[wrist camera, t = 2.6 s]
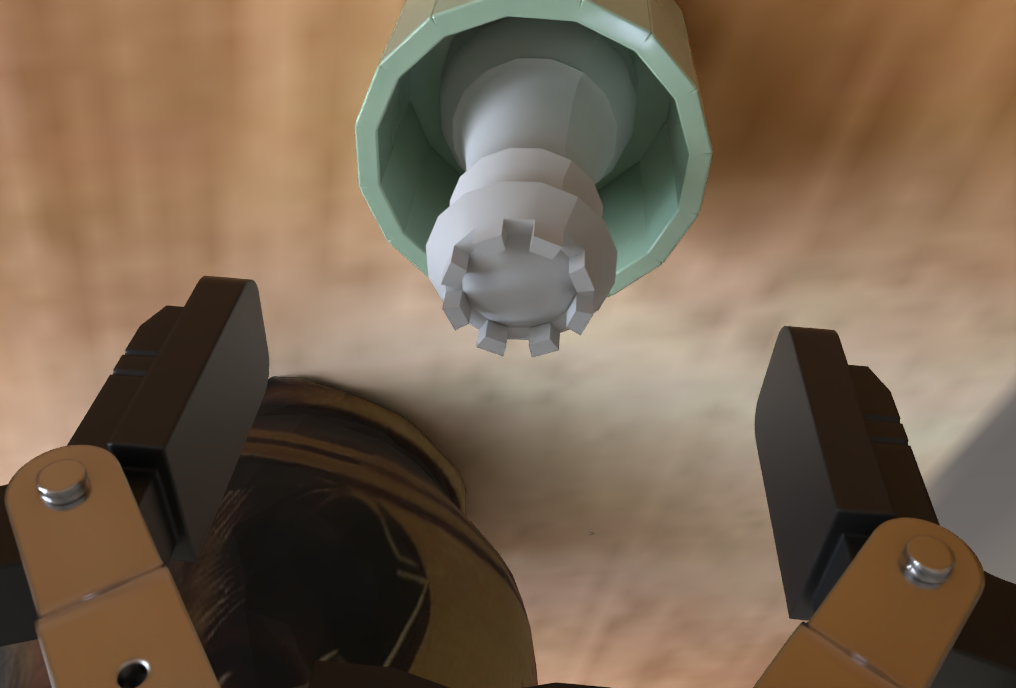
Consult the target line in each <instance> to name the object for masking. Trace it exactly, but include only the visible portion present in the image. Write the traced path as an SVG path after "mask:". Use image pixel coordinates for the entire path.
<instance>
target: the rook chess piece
mask: <svg viewBox="0 0 1016 688" xmlns="http://www.w3.org/2000/svg"><path fill="white" fill-rule="evenodd" d="M637 86H638V77H637V74H636V71H635V68H634V65H633V62H632V59H631V56H630V54H629V51H628V48H627V47H625V46H623V45H621V44H619V43H617V42H615V41H613V40H611V39H609V38H607V37H605V36H603V35H601V34H599V33H598V32H596V31H594V30H592V29H590V28H588V27H586V26H584V25H582V24H580V23H578V22H576V21H563V20H549V19H536V18H523V17H509V16H507V17H504V18H501V19H498V20H495V21H492V22H489V23H486V24H483V25H480V26H477V27H474V28H471V29H468V30H465V31H462V32H460V33H459V34H458V35H457V36H456V37H455V39H454V40H453V43H452V45H451V48H450V51H449V53H448V56H447V59H446V61H445V64H444V67H443V69H442V72H441V87H440V90H439V106H440V122H441V130H442V133H443V136H444V138H445V140H446V142H447V144H448V146H449V148H450V150H451V152H452V154H453V156H454V158H455V160H456V162H457V164H458V166H459V167H460V168H462V169H463V170H464V171H465V173H464V174H463V175H462V176H460V178H459V180H458V183H457V185H456V187H455V190H454V192H453V195H452V197H451V199H450V206H449V207H448V208H447V209H446V210H445V211H444V212H443V213H441V214H440V215H439V216H438V218H437V220H436V223H435V225H434V227H433V230H432V232H431V235H430V237H429V239H428V242H427V244H426V255H427V267H428V277H429V279H430V280H431V282H432V284H433V285H434V287H435V289H436V291H437V292H438V294H439V296H440V298H441V299H442V301H443V308H442V309H443V310H444V312H445V314H446V316H447V317H448V319H449V321H450V322H451V324H452V326H453V328H454V329H455V330H457V329H459V328H461V327H463V326H465V325H467V324H470V325H472V326H474V327H475V328H477V329H479V333H478V339H477V346H476V347H478V348H481V349H484V350H487V351H490V352H493V353H495V354H498V355H501V356H503V355H504V351H505V347H506V342H507V339H519V340H529V348H530V352H531V356H532V357H535V356H539V355H543V354H547V353H550V352H554V351H558V350H559V337H560V333H561V332H563V331H566V330H569V329H570V330H572V331H574V332H576V333H578V334H579V335H581V334H582V332H583V330H584V329H585V327H586V325H587V324H588V322H589V321H590V319H591V317H592V316H593V313H595V312H596V311H597V310H599V308H600V307H601V305H602V303H603V302H604V300H605V298H606V297H607V295H608V294H609V292H610V290H611V289H612V287H613V285H614V284H615V276H616V265H617V253H618V252H617V250H616V247H615V245H614V242H613V240H612V238H611V235H610V233H609V230H608V228H607V225H606V223H605V221H604V220H603V219H602V216H603V204H602V202H601V199H600V197H599V194H598V192H597V189H596V187H595V184H596V183H597V182H599V181H600V180H601V179H602V178H604V177H605V176H606V175H607V174H609V173H610V172H611V171H612V170H613V168H614V167H615V165H616V163H617V161H618V159H619V158H620V156H621V154H622V152H623V150H624V149H625V147H626V145H627V143H628V141H629V140H630V138H631V136H632V134H633V129H634V118H635V108H636V97H637Z"/></svg>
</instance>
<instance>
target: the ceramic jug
mask: <svg viewBox="0 0 1016 688" xmlns="http://www.w3.org/2000/svg"><path fill="white" fill-rule="evenodd" d="M592 534H594V533H592V532H590V535H592ZM167 567H168V569H169V571H170V573H171V575H172V577H173V580H174V582H175V584H176V587H177V589H178V591H179V594H180V596H181V598H182V600H183V603H184V605H185V607H186V610H187V612H188V614H189V616H190V619H191V621H192V623H193V626H194V628H195V630H196V633H197V635H198V637H199V639H200V642H201V644H202V646H203V649H204V651H205V653H206V656H207V658H208V660H209V662H210V665H211V667H212V669H213V672H214V674H215V676H216V679H217V681H218V683H219V685H220V688H293V687H297V686H302V685H308V684H309V682H310V678H311V674H312V670H313V666H314V662H315V660H320V661H330V662H341V663H352V664H362V665H373V666H384V667H394V668H396V669H399V670H402V671H405V672H408V673H410V674H413V675H416V676H419V677H422V678H424V679H427V680H430V681H433V682H436V683H438V684H441V685H444V686H447V687H450V688H524V687H531V686H537V685H538V681H537V670H536V662H535V655H534V648H533V642H532V635H531V629H530V625H529V621H528V618H527V614H526V611H525V608H524V604H523V601H522V598H521V596H520V593H519V590H518V588H517V585H516V583H515V580H514V577H513V575H512V573H511V572H510V570H509V568H508V567H507V565H506V564H505V562H504V561H503V559H502V557H501V556H500V555H499V553H498V552H497V551H496V550H495V549H494V548H493V546H492V545H491V544H490V543H489V542H488V541H487V540H486V538H485V537H484V536H483V535H482V534H481V533H480V531H479V530H478V529H477V528H476V527H475V526H474V524H473V523H472V522H471V521H470V520H469V519H468V518H467V517H466V498H465V486H464V484H463V481H462V478H461V475H460V473H459V472H458V471H457V470H456V469H455V468H454V467H453V466H452V464H451V463H450V462H449V461H448V460H447V459H446V458H445V457H444V456H443V455H442V454H441V453H440V452H439V451H438V450H437V448H436V447H435V446H434V445H433V444H432V443H431V442H430V441H429V440H428V439H427V438H426V437H425V436H424V435H423V434H422V432H421V431H420V430H419V429H418V428H417V427H416V426H415V425H414V424H412V423H411V422H409V421H408V420H406V419H405V418H403V417H402V416H401V415H399V414H397V413H395V412H392V411H390V410H387V409H385V408H383V407H380V406H378V405H376V404H373V403H371V402H368V401H366V400H364V399H361V398H359V397H356V396H354V395H352V394H349V393H347V392H344V391H340V390H337V389H333V388H330V387H326V386H323V385H319V384H317V383H314V382H312V381H310V380H307V379H304V378H290V377H276V376H273V377H272V378H270V379H268V383H267V388H266V391H265V394H264V397H263V400H262V402H261V405H260V407H259V409H258V412H257V414H256V417H255V419H254V422H253V424H252V427H251V429H250V432H249V434H248V437H247V439H246V442H245V444H244V446H243V449H242V451H241V454H240V456H239V459H238V461H237V464H236V466H235V469H234V471H233V474H232V476H231V479H230V481H229V483H228V486H227V488H226V491H225V493H224V496H223V498H222V501H221V503H220V506H219V508H218V511H217V513H216V516H215V518H214V520H213V523H212V525H211V528H210V530H209V533H208V535H207V538H206V540H205V543H204V545H203V548H202V550H201V553H200V555H199V557H198V560H197V562H189V561H178V560H170V561H169V563H168V566H167ZM0 688H52V686H51V682H50V679H49V675H48V672H47V668H46V665H45V661H44V658H43V655H42V651H41V648H40V644H39V641H38V639H36V640H31V641H26V642H21V643H16V644H11V645H6V646H1V647H0Z"/></svg>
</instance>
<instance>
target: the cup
mask: <svg viewBox="0 0 1016 688" xmlns="http://www.w3.org/2000/svg"><path fill="white" fill-rule="evenodd" d="M507 16H509V17H523V18H536V19H549V20H563V21H576V22H578V23H580V24H582V25H584V26H586V27H588V28H590V29H592V30H594V31H596V32H598V33H599V34H601V35H603V36H605V37H607V38H609V39H611V40H613V41H615V42H617V43H619V44H621V45H623V46H625V47H627V48H628V51H629V54H630V56H631V59H632V62H633V65H634V68H635V71H636V74H637V77H638V86H637V97H636V108H635V118H634V129H633V134H632V136H631V138H630V140H629V141H628V143H627V145H626V147H625V149H624V150H623V152H622V154H621V156H620V158H619V159H618V161H617V163H616V165H615V167H614V168H613V170H612V171H611V172H610V173H609V174H607V175H606V176H605V177H604V178H602V179H601V180H600V181H599V182H597V183H596V184H595V187H596V189H597V192H598V194H599V197H600V199H601V202H602V204H603V216H602V219H603V220H604V221H605V223H606V225H607V228H608V230H609V233H610V235H611V238H612V240H613V242H614V245H615V247H616V250H617V252H618V253H617V265H616V276H615V284H614V285H613V287H612V289H611V290H610V292H609V294H608V295H607V297H609V296H611V295H614V294H616V293H617V292H619V291H620V290H622V289H623V288H625V287H627V286H628V285H630V284H631V283H633V282H634V281H636V280H638V279H639V278H641V277H642V276H644V275H646V274H647V273H649V272H650V271H652V270H653V269H655V268H657V267H658V266H660V265H661V264H662V262H664V261H665V260H666V259H667V257H668V256H669V255H670V253H671V252H672V251H673V249H674V248H675V247H676V245H677V244H678V242H679V241H680V240H681V238H682V237H683V236H684V234H685V233H686V232H687V230H688V229H689V228H690V226H691V225H692V223H693V222H694V221H695V219H696V218H697V217H698V214H699V212H700V210H701V206H702V201H703V196H704V192H705V187H706V183H707V178H708V174H709V169H710V165H711V160H712V150H713V149H712V145H711V140H710V135H709V130H708V125H707V120H706V116H705V111H704V106H703V101H702V96H701V91H700V87H699V82H698V77H697V72H696V67H695V63H694V59H693V54H692V50H691V46H690V42H689V37H688V33H687V29H686V24H685V20H684V16H683V13H682V12H681V9H680V7H679V6H678V5H677V3H676V2H675V0H406V2H405V4H404V6H403V9H402V11H401V13H400V15H399V18H398V20H397V22H396V25H395V27H394V29H393V32H392V34H391V36H390V39H389V41H388V43H387V46H386V48H385V50H384V53H383V55H382V57H381V59H380V62H379V64H378V66H377V69H376V71H375V74H374V77H373V79H372V82H371V84H370V87H369V89H368V92H367V94H366V97H365V99H364V102H363V104H362V107H361V109H360V112H359V115H358V117H357V120H356V125H355V138H356V152H357V167H358V182H359V186H360V190H361V192H362V194H363V196H364V198H365V199H366V201H367V203H368V205H369V207H370V209H371V211H372V213H373V215H374V217H375V219H376V221H377V222H378V224H379V226H380V228H381V230H382V232H383V234H384V236H385V238H386V239H387V240H388V242H389V243H390V244H391V245H392V246H393V247H394V248H396V249H397V250H398V251H399V252H400V253H401V254H402V255H404V256H405V257H406V258H407V259H408V260H409V261H410V262H411V263H413V264H414V265H415V266H416V267H417V268H418V269H419V270H421V271H422V272H423V273H424V274H425V275H426V276H427V277H428V267H427V255H426V244H427V242H428V239H429V237H430V235H431V232H432V230H433V227H434V225H435V223H436V220H437V218H438V216H439V215H440V214H441V213H443V212H444V211H445V210H446V209H447V208H448V207H449V206H450V199H451V197H452V195H453V192H454V190H455V187H456V185H457V183H458V180H459V178H460V176H462V175H463V174H464V173H465V171H464V170H463V169H462V168H460V167H459V166H458V164H457V162H456V160H455V158H454V156H453V154H452V152H451V150H450V148H449V146H448V144H447V142H446V140H445V138H444V136H443V133H442V130H441V122H440V106H439V90H440V87H441V72H442V69H443V67H444V64H445V61H446V59H447V56H448V53H449V51H450V48H451V45H452V43H453V40H454V39H455V37H456V36H457V35H458V34H459V33H460V32H462V31H465V30H468V29H471V28H474V27H477V26H480V25H483V24H486V23H489V22H492V21H495V20H498V19H501V18H504V17H507ZM428 278H429V277H428Z"/></svg>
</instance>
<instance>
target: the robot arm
mask: <svg viewBox="0 0 1016 688" xmlns="http://www.w3.org/2000/svg"><path fill="white" fill-rule="evenodd" d="M125 351H126V353H125V355H122V356H121V358H120V360H119V361H118V363H117V365H116V366H115V368H114V369H113V370H114V373H113V375H110V376H109V378H108V379H107V381H106V383H105V384H104V386H103V387H102V389H101V391H100V392H99V394H98V396H97V397H96V399H95V401H94V402H93V404H92V406H91V407H90V409H89V410H88V412H87V414H86V415H85V417H84V419H83V420H82V422H81V424H80V425H79V427H78V428H77V430H76V432H75V433H74V435H73V437H72V438H71V440H70V442H69V443H68V445H67V446H64V447H60V448H56V449H53V450H50V451H48V452H45V453H43V454H41V455H39V456H37V457H35V458H33V459H32V460H31V461H29V462H28V463H26V464H25V465H24V466H23V467H21V468H20V469H19V470H18V471H17V472H16V474H15V475H14V476H13V477H12V479H11V480H10V482H9V484H7V485H3V486H0V647H1V646H6V645H11V644H16V643H21V642H26V641H31V640H36V639H38V641H39V644H40V648H41V651H42V655H43V658H44V661H45V665H46V668H47V672H48V675H49V679H50V682H51V686H52V688H220V685H219V683H218V681H217V679H216V676H215V674H214V672H213V669H212V667H211V665H210V662H209V660H208V658H207V656H206V653H205V651H204V649H203V646H202V644H201V642H200V639H199V637H198V635H197V633H196V630H195V628H194V626H193V623H192V621H191V619H190V616H189V614H188V612H187V610H186V607H185V605H184V603H183V600H182V598H181V596H180V594H179V591H178V589H177V587H176V584H175V582H174V580H173V577H172V575H171V573H170V571H169V569H168V567H167V566H168V563H169V561H170V560H178V561H189V562H197V560H198V557H199V555H200V553H201V550H202V548H203V545H204V543H205V540H206V538H207V535H208V533H209V530H210V528H211V525H212V523H213V520H214V518H215V516H216V513H217V511H218V508H219V506H220V503H221V501H222V498H223V496H224V493H225V491H226V488H227V486H228V483H229V481H230V479H231V476H232V474H233V471H234V469H235V466H236V464H237V461H238V459H239V456H240V454H241V451H242V449H243V446H244V444H245V442H246V439H247V437H248V434H249V432H250V429H251V427H252V424H253V422H254V419H255V417H256V414H257V412H258V409H259V407H260V405H261V402H262V400H263V397H264V394H265V391H266V388H267V383H268V376H269V353H268V347H267V341H266V335H265V328H264V322H263V316H262V310H261V303H260V297H259V291H258V287H257V285H256V283H255V281H254V280H249V279H237V278H225V277H214V276H203V277H202V278H201V279H200V280H199V282H198V283H197V285H196V287H195V289H194V290H193V292H192V294H191V296H190V297H189V299H188V301H187V303H186V304H185V306H184V307H178V306H165V307H164V308H163V309H162V310H160V311H159V312H158V313H156V314H155V315H154V316H152V317H151V318H150V319H148V320H147V321H146V322H144V323H143V324H142V325H141V326H140V327H139V329H138V330H137V332H136V333H135V335H134V337H133V338H132V340H131V342H130V343H129V345H128V347H127V348H126V350H125ZM755 438H756V444H757V449H758V455H759V460H760V465H761V470H762V476H763V481H764V486H765V492H766V497H767V502H768V507H769V513H770V518H771V523H772V528H773V534H774V539H775V544H776V550H777V555H778V560H779V565H780V571H781V576H782V581H783V586H784V592H785V597H786V602H787V608H788V613H789V618H790V619H799V620H809V621H808V622H807V623H805V622H802V623H801V624H800V625H799V626H798V627H797V628H796V630H795V631H794V632H793V633H792V635H791V636H790V637H789V639H788V640H787V642H786V643H785V644H784V646H783V647H782V648H781V650H780V651H779V653H778V654H777V655H776V657H775V658H774V659H773V661H772V662H771V664H770V665H769V666H768V668H767V669H766V670H765V672H764V673H763V675H762V676H761V677H760V679H759V680H758V681H757V683H756V684H755V686H754V687H753V688H1016V584H1014V583H1011V582H1008V581H1005V580H1003V579H1000V578H998V577H995V576H993V575H991V574H989V573H987V572H985V571H983V568H982V565H981V563H980V561H979V560H978V558H977V556H976V555H975V553H974V552H973V551H972V549H971V548H970V547H969V546H968V545H967V544H966V543H965V542H964V541H963V540H962V539H960V538H959V537H958V536H956V535H955V534H954V533H952V532H950V531H949V530H947V529H945V528H943V527H941V526H940V525H939V523H938V519H937V517H936V514H935V511H934V508H933V506H932V503H931V500H930V498H929V495H928V492H927V489H926V487H925V484H924V481H923V479H922V476H921V473H920V470H919V468H918V465H917V462H916V460H915V457H914V454H913V451H912V449H911V446H908V438H907V435H906V432H905V430H904V427H903V424H900V416H899V413H898V411H897V408H896V405H895V402H894V400H893V397H892V394H891V392H890V390H889V389H888V388H887V387H886V386H885V385H884V384H883V383H882V382H881V381H880V379H879V378H878V377H877V376H876V375H875V374H874V373H873V372H872V371H871V370H870V369H869V367H867V366H855V365H848V363H847V360H846V357H845V354H844V351H843V348H842V345H841V342H840V338H839V336H838V334H837V332H836V331H835V330H827V329H815V328H803V327H792V326H784V327H783V328H782V329H781V330H780V332H779V335H778V337H777V340H776V344H775V347H774V350H773V353H772V356H771V359H770V362H769V366H768V369H767V372H766V375H765V378H764V381H763V385H762V388H761V391H760V394H759V397H758V401H757V406H756V413H755ZM293 688H450V687H447V686H444V685H441V684H438V683H436V682H433V681H430V680H427V679H424V678H422V677H419V676H416V675H413V674H410V673H408V672H405V671H402V670H399V669H396V668H394V667H384V666H373V665H362V664H352V663H341V662H330V661H320V660H315V662H314V666H313V670H312V674H311V678H310V682H309V684H308V685H302V686H297V687H293ZM524 688H609V687H598V686H587V685H577V684H566V683H550V684H544V685H537V686H531V687H524Z"/></svg>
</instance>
